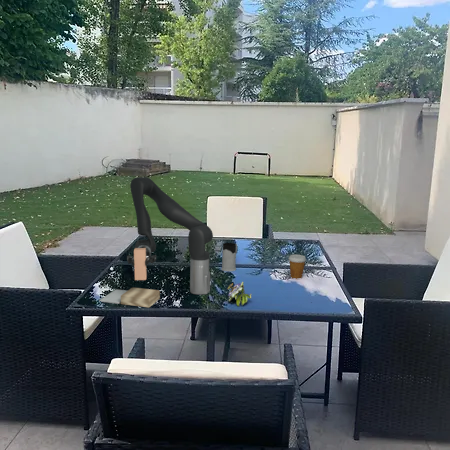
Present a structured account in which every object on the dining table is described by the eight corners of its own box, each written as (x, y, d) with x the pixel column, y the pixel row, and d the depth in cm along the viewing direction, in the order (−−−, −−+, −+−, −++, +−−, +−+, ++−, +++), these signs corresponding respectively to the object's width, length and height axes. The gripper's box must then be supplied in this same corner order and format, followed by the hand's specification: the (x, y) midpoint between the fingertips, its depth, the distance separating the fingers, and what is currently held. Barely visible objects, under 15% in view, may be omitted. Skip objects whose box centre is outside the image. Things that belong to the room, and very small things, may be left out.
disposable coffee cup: (306, 280, 248) (308, 258, 245) (289, 280, 247) (290, 258, 244) (302, 274, 257) (303, 254, 254) (286, 274, 256) (287, 254, 254)
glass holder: (218, 269, 263) (219, 244, 260) (229, 264, 275) (230, 240, 272) (232, 272, 259) (232, 246, 256) (242, 266, 271) (243, 241, 268)
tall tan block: (146, 277, 211) (145, 248, 208) (146, 279, 207) (145, 250, 204) (135, 277, 210) (134, 248, 208) (134, 280, 206) (133, 250, 204)
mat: (134, 292, 222) (134, 291, 222) (118, 303, 207) (118, 302, 207) (115, 290, 225) (115, 289, 225) (99, 301, 210) (99, 300, 209)
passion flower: (230, 312, 214) (225, 288, 219) (252, 307, 215) (247, 283, 220) (230, 307, 204) (225, 281, 208) (254, 302, 205) (248, 277, 209)
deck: (159, 298, 215) (159, 290, 214) (149, 307, 203) (149, 299, 203) (132, 295, 218) (132, 287, 217) (120, 304, 207) (120, 295, 206)
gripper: (127, 246, 220) (123, 255, 203) (157, 246, 221) (155, 255, 204) (128, 261, 221) (124, 271, 204) (157, 261, 222) (156, 271, 206)
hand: (139, 263), depth 204 cm, fingers closed on tall tan block, 5 cm apart
